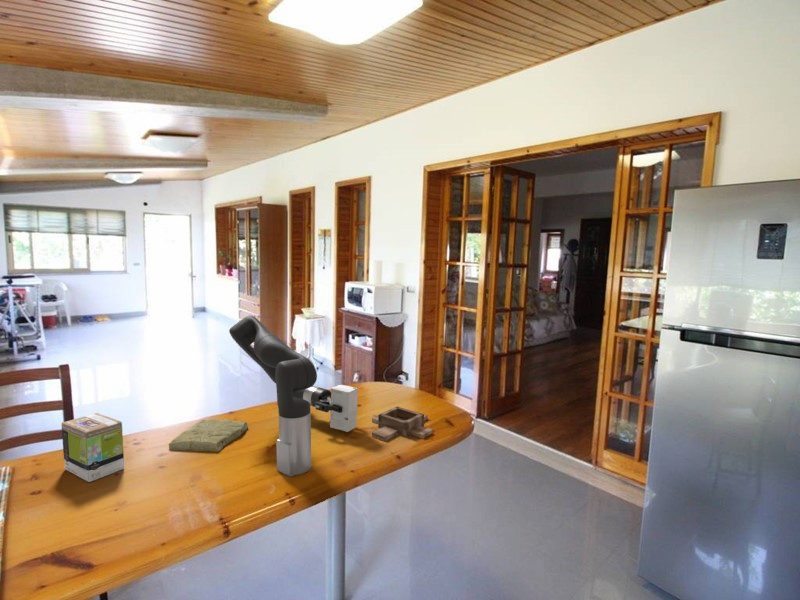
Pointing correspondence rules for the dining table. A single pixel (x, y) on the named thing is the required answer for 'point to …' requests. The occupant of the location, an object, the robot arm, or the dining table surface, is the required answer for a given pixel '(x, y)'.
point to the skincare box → (344, 407)
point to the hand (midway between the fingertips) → (348, 407)
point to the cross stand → (400, 424)
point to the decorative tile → (208, 435)
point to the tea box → (93, 446)
